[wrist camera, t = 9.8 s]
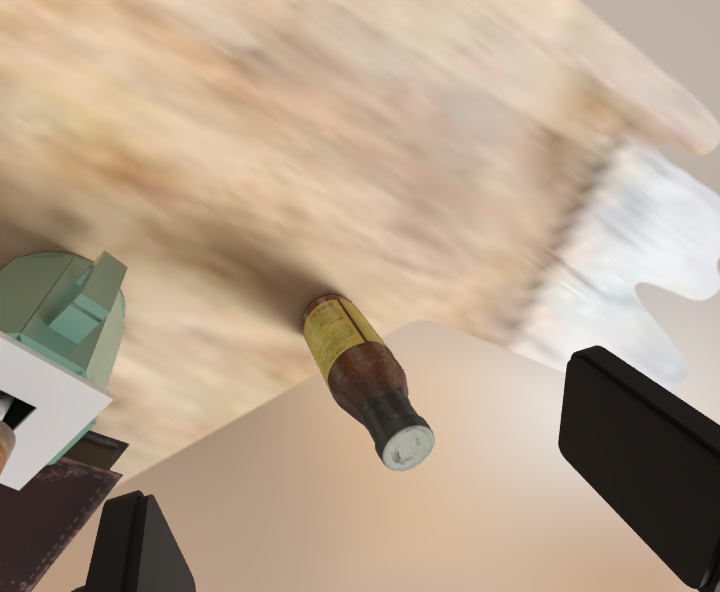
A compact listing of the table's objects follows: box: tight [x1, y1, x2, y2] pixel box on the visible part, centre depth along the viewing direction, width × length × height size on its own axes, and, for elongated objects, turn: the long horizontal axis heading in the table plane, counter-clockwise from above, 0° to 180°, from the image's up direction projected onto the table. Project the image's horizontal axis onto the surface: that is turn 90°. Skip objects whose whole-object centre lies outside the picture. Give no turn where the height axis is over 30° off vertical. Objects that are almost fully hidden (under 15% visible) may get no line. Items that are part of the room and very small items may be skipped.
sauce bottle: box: [302, 295, 435, 471], centre depth 39 cm, size 6×6×20 cm
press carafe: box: [0, 251, 128, 490], centre depth 33 cm, size 10×13×14 cm
